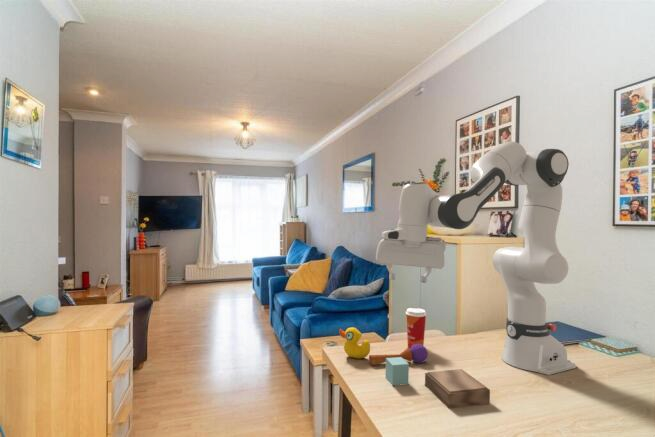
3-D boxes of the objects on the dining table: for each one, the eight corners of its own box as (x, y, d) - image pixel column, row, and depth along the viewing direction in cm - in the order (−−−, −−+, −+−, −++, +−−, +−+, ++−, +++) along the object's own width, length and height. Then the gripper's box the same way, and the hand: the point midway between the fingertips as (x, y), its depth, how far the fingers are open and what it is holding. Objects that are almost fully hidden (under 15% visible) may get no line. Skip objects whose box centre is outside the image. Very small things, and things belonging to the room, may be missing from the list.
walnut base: (461, 381, 100) (461, 368, 100) (489, 403, 88) (489, 388, 88) (425, 385, 97) (425, 371, 97) (448, 408, 85) (449, 392, 85)
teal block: (400, 376, 102) (401, 356, 102) (408, 384, 97) (408, 363, 97) (385, 378, 101) (385, 358, 101) (392, 386, 96) (392, 365, 96)
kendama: (366, 349, 114) (421, 341, 117) (369, 367, 113) (423, 359, 116) (372, 352, 108) (429, 344, 112) (374, 372, 107) (432, 363, 111)
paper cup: (404, 343, 130) (404, 307, 130) (424, 344, 129) (425, 308, 129) (405, 350, 122) (406, 312, 122) (427, 352, 121) (428, 313, 121)
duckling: (335, 356, 116) (336, 327, 116) (342, 351, 121) (342, 323, 121) (366, 363, 111) (367, 333, 111) (372, 357, 116) (372, 328, 116)
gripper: (443, 237, 104) (439, 282, 104) (377, 232, 105) (373, 276, 105) (449, 238, 98) (445, 286, 98) (379, 232, 99) (375, 279, 99)
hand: (407, 280), depth 101 cm, fingers open, 8 cm apart
